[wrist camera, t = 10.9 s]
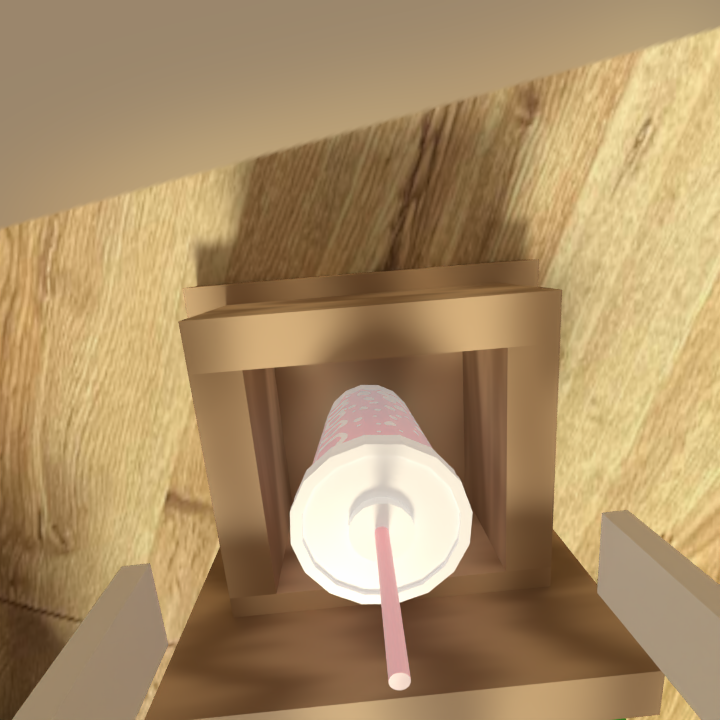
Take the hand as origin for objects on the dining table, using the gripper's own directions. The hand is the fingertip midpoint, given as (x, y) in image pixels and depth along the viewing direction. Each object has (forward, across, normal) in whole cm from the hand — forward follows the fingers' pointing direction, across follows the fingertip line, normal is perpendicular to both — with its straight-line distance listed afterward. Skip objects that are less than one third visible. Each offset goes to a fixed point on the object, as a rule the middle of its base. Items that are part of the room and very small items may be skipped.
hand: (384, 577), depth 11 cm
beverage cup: (+11, 0, 0) cm, 11 cm away
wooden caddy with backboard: (+13, +1, 0) cm, 13 cm away
